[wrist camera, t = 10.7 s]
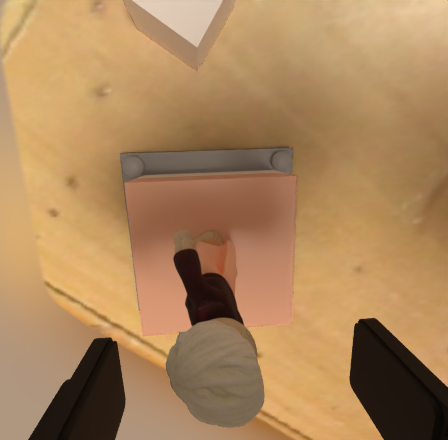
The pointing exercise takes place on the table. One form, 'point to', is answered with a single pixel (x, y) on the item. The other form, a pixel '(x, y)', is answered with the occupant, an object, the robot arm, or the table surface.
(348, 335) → the table surface
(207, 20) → the white cube
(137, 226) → the pink framed box
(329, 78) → the table surface
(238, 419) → the grandmother figurine
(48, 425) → the robot arm
